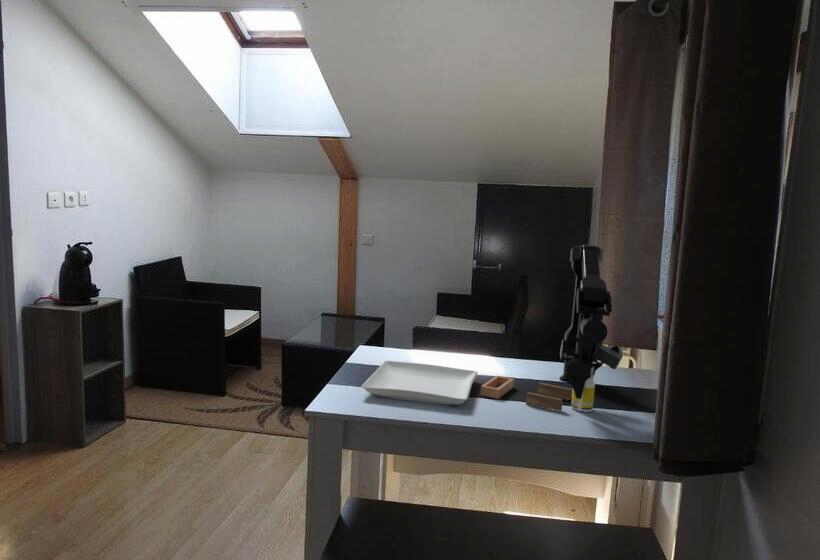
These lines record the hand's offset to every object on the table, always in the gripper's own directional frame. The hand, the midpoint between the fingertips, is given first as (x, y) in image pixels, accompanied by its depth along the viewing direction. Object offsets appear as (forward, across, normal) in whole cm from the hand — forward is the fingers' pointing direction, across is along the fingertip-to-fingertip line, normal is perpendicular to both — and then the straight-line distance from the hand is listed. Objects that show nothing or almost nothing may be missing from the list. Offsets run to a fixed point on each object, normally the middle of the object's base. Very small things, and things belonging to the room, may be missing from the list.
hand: (583, 393), depth 165 cm
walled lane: (+4, 0, +8) cm, 9 cm away
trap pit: (+4, 0, +23) cm, 23 cm away
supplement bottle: (+4, 0, 0) cm, 4 cm away
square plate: (+5, -11, +40) cm, 42 cm away
